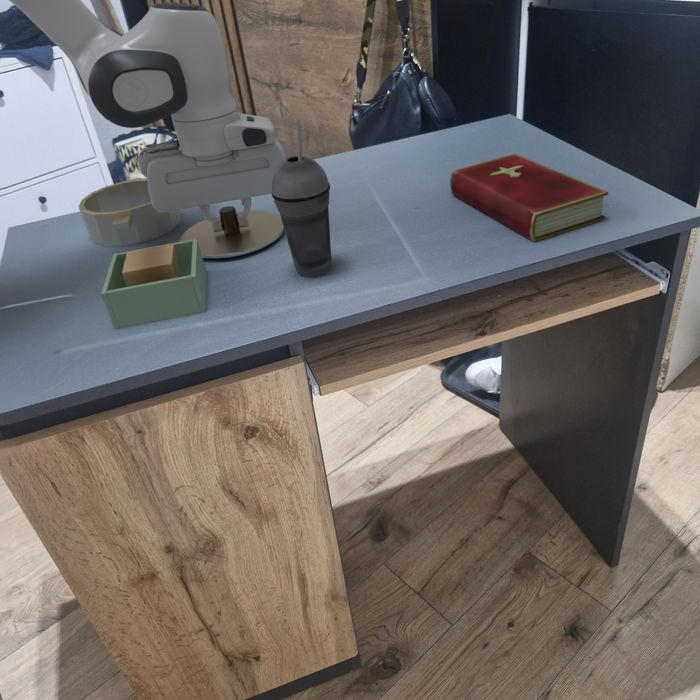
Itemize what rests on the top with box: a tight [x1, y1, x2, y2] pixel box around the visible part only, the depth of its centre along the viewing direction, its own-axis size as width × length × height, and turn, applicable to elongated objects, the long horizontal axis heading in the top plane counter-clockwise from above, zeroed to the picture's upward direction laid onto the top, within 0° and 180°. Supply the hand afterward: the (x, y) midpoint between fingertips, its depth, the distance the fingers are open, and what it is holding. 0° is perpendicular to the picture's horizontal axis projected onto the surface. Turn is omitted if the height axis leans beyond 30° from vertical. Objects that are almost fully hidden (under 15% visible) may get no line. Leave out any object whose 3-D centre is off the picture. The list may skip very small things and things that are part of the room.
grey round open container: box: [78, 177, 182, 248], centre depth 103 cm, size 15×20×6 cm
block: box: [122, 242, 184, 287], centre depth 82 cm, size 6×6×6 cm
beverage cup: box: [271, 119, 332, 279], centre depth 79 cm, size 7×7×20 cm
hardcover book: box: [449, 152, 609, 243], centre depth 93 cm, size 12×21×4 cm, turn 23°
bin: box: [100, 239, 207, 330], centre depth 82 cm, size 11×11×6 cm
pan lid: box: [179, 205, 285, 259], centre depth 95 cm, size 16×16×5 cm
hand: (231, 228), depth 95 cm, fingers closed on pan lid, 2 cm apart
